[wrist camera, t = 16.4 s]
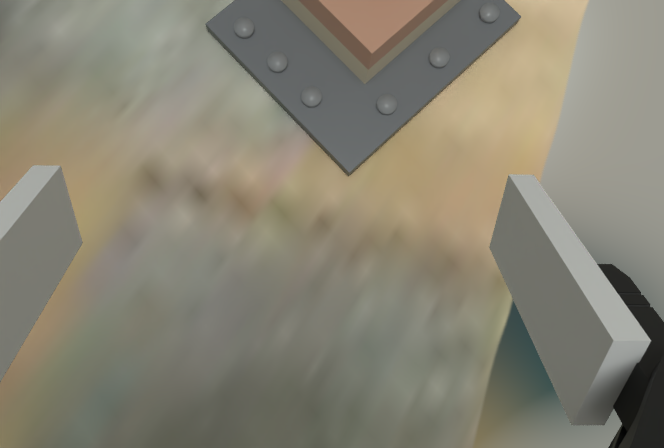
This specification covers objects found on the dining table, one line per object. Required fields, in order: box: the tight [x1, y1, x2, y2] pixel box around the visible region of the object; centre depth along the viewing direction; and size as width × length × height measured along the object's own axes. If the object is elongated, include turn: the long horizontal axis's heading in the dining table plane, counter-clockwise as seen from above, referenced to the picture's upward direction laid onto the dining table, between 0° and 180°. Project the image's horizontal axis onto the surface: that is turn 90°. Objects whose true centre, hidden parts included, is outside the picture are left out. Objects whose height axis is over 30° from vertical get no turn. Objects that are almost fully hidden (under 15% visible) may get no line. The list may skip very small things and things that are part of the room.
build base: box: [206, 0, 521, 176], centre depth 41 cm, size 17×20×6 cm
